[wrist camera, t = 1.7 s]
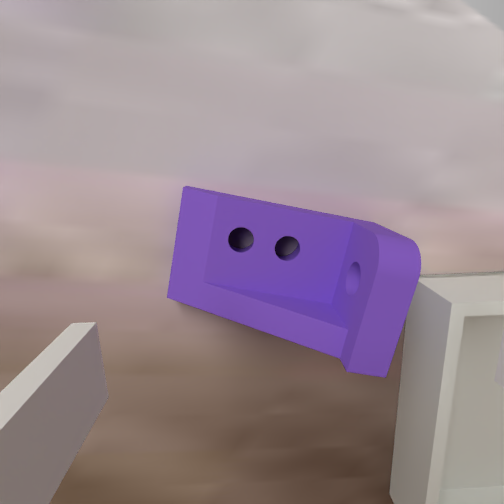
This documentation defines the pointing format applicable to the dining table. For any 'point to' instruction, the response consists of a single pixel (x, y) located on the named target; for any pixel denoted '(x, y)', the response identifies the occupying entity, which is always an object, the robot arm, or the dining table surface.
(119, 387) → the dining table surface
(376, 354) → the bracket
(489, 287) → the bin
